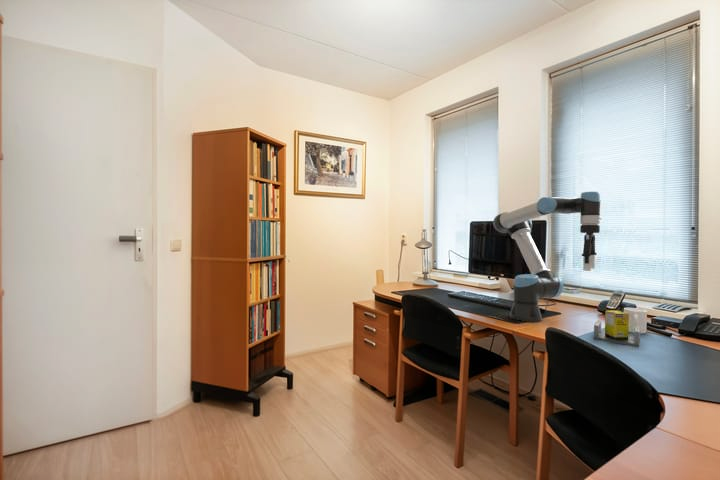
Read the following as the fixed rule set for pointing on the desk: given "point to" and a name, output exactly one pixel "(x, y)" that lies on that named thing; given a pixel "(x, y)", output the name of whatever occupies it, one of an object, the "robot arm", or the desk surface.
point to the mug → (637, 319)
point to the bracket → (630, 341)
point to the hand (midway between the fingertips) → (589, 269)
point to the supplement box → (616, 324)
